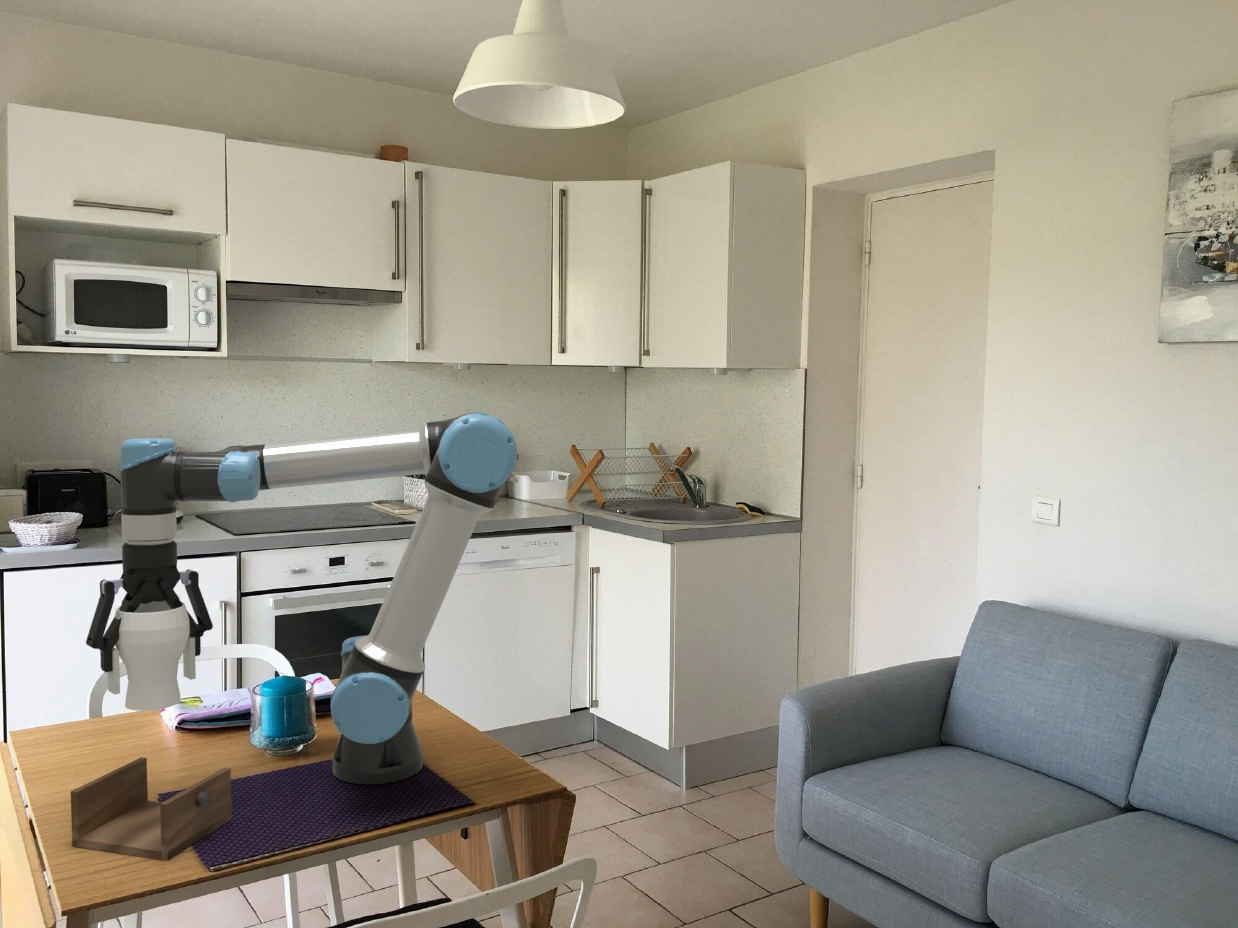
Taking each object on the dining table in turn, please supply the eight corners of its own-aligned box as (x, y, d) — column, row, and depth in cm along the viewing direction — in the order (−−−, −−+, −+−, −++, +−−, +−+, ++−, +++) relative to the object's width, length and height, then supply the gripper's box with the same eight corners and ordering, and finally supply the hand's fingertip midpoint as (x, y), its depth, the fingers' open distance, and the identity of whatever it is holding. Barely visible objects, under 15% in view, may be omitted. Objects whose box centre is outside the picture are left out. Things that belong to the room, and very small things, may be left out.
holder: (237, 820, 154) (236, 768, 153) (173, 861, 140) (172, 805, 140) (137, 806, 159) (135, 756, 158) (66, 845, 145) (64, 790, 144)
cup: (117, 696, 158) (115, 601, 157) (191, 690, 162) (190, 597, 161) (111, 717, 149) (108, 616, 148) (189, 710, 152) (188, 611, 151)
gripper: (213, 531, 164) (216, 665, 166) (57, 545, 148) (62, 694, 150) (234, 536, 159) (237, 674, 161) (75, 551, 143) (80, 706, 144)
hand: (152, 684), depth 155 cm, fingers closed on cup, 10 cm apart
